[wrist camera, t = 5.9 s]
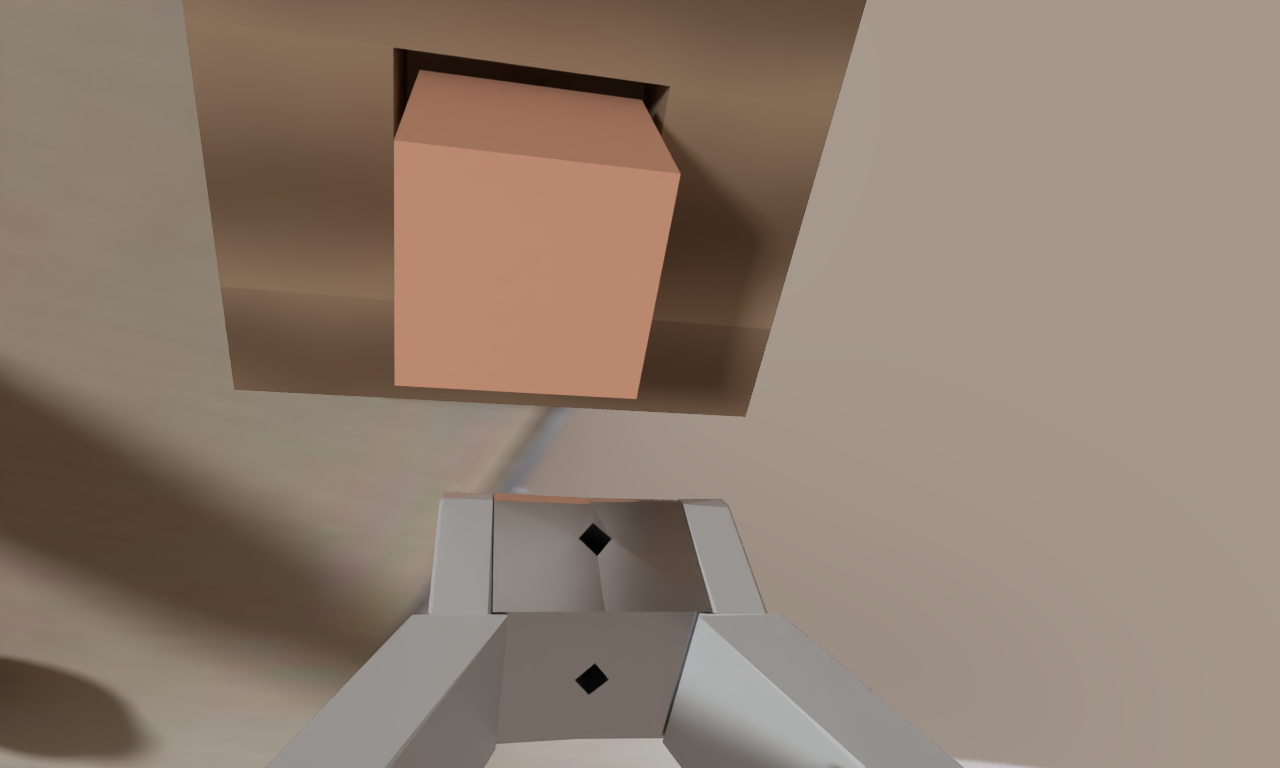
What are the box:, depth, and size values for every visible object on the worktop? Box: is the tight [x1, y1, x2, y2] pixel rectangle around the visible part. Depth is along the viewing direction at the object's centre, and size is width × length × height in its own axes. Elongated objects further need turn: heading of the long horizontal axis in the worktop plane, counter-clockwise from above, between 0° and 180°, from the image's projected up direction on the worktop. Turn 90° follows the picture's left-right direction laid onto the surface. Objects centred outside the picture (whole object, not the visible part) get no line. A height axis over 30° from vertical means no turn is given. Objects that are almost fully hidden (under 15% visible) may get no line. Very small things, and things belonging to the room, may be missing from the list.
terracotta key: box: [394, 70, 681, 399], centre depth 17 cm, size 5×5×5 cm
